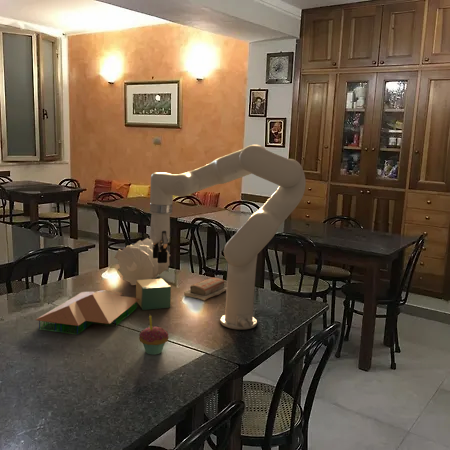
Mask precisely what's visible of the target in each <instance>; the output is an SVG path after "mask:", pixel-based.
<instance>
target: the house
mask: <svg viewBox="0 0 450 450" xmlns="http://www.w3.org/2000/svg"><path fill="white" fill-rule="evenodd" d="M131 297H132V296H124V295H123V292H120V291H113V290H107V289H98V290H97V291H81V292H79V293H78V294H76V295H74V296H73V297H71V298H69V299H68V300H66V301H64V302H63V303H61V304H59V305H57V306H55V307H54V308H53V309H51V310H49V311H47V312H46V313H44V314H42V315H41V316H39V317H37V318H35V321H38V329H39V330H43V331H49V332H58V333H65V334H72V335H79V334H80V333H81V332H83V331H84V330H86V329H87V328H88V327H90V326H91V325H92V324H94V325H97V324H100V325H103V326H104V325H108V326H109V327H112V323H114V322H115V321H116V320H119V321H118V322H117V325H119V324H120V323H121V322H122V321H123V319H121V317H124V319H126V318H127V317H128V316H129V314H128V311H130V313H133V312H135V310H136V309H137V307H138V303H137V301H138V300H140V299H137V298H131ZM86 322H87V325H86ZM49 324H50V327H53V329H48V325H49ZM70 326H71V327H72V330H74V329H75V330H74V332H70V331H69V330H70ZM45 327H46V328H45ZM61 328H62V330H61ZM66 329H67V331H68V332H67V331H66ZM79 329H80V331H79Z"/></svg>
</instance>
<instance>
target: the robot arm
mask: <svg viewBox="0 0 450 450" xmlns="http://www.w3.org/2000/svg"><path fill="white" fill-rule="evenodd" d="M250 175H253V176H256V177H257V178H261V179H264V180H265V181H268V182H270V183H272V184H275V185H277V186H278V187H277V188H276V190H275V191H274V192H273V193H272V194H271V196H270V197H269V198H268V199H267V200H266V201H265V203H264V204H263V205H262V206H261V207H260V208H259V209H257V210H256V211H255V212H254V213H253V214H251V215H250V216H249V218H248V219H247V220H246V221H245V222H244V224H242V226H241V227H240V228H239V229H238V230H237V231H236V232H235V233H234V235H232V236H231V238H230V239H229V240H228V241H227V242H226V244H225V245H224V248H223V254H224V258H225V261H226V262H227V274H226V291H225V307H224V309H225V311H224V313H225V314H224V315H222V316H221V317H220V321H219V322H220V325H222V326H223V327H226V328H228V329H231V330H240V331H241V330H250V329H253V328H255V327H256V326H257V325H258V320H257V319H256V318H255V317H254V305H255V302H254V301H255V290H256V289H255V288H256V275H257V273H256V272H257V261H258V254H259V253H260V252H261V251H262V250H263V249H264V248H265V247H266V246H267V245H268V244H269V242H271V240H272V239H273V238H274V237H275V235H276V234H277V232H278V229H279V228H280V226H281V225H282V224H283V223H284V222H285V220H287V219H288V217H290V215H291V214H292V213H293V212H294V210H296V208H297V206H298V205H299V204H300V203H301V201H302V199H303V197H304V195H305V191H306V183H307V181H306V174H305V171H304V169H303V165H301V163H300V162H299V161H298V160H296V159H294V158H287V157H284V156H281V155H279V154H277V153H274V152H272V151H270V150H267V149H266V147H264V146H262V145H260V144H250V145H247V146H246V147H244V148H241V149H239V150H237V151H233V152H231V153H228V154H226V155H223V156H220V157H217V158H216V159H214V160H213V161H211V162H209V163H208V164H206V165H204V166H200V167H198V168H195V169H193V170H189V171H187V172H183V173H179V174H172V173H170V172H161V171H160V172H157V171H156V172H152V174H151V176H150V192H149V193H150V196H149V199H150V201H149V214H151V215H150V226H149V239H151V240H152V241H153V258H158V261H157V262H158V263H167V250H168V244H169V243H170V237H171V234H170V233H171V218H170V216H171V215H173V199H174V198H173V197H174V196H175V197H179V198H180V197H181V198H184V197H188V196H190V195H192V194H195V193H197V192H200V191H203V190H206V189H209V188H211V187H213V186H214V187H215V186H218V185H225V184H227V183H230V182H232V181H235V180H238V179H241V178H243V177H247V176H250ZM161 245H162V246H161Z"/></svg>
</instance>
